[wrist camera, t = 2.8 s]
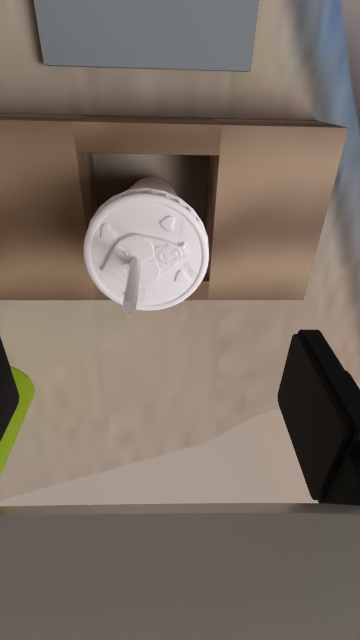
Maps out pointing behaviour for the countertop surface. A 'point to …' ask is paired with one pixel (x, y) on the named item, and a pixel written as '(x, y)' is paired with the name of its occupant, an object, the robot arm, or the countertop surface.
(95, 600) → the robot arm
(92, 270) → the smoothie
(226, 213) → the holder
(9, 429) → the soap dispenser
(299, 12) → the countertop surface
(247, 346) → the countertop surface
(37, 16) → the mat
